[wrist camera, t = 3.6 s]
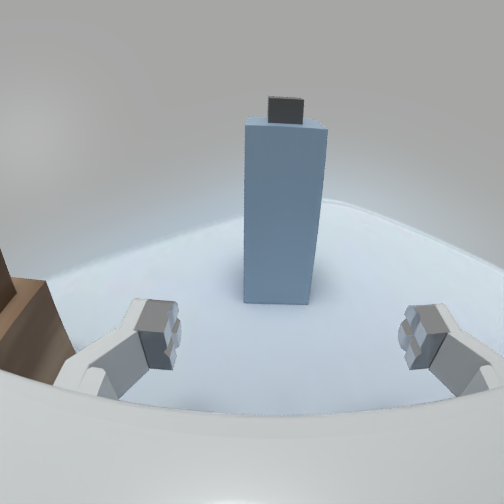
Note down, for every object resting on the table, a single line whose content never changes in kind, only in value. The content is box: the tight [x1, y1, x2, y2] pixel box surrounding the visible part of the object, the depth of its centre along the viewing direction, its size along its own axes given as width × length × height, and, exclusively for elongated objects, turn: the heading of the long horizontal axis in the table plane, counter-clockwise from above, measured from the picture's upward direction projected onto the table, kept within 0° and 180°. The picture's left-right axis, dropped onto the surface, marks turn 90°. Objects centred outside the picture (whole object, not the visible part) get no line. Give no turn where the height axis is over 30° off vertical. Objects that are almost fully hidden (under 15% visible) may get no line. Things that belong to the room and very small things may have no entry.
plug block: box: [244, 96, 328, 304], centre depth 21 cm, size 4×4×14 cm
